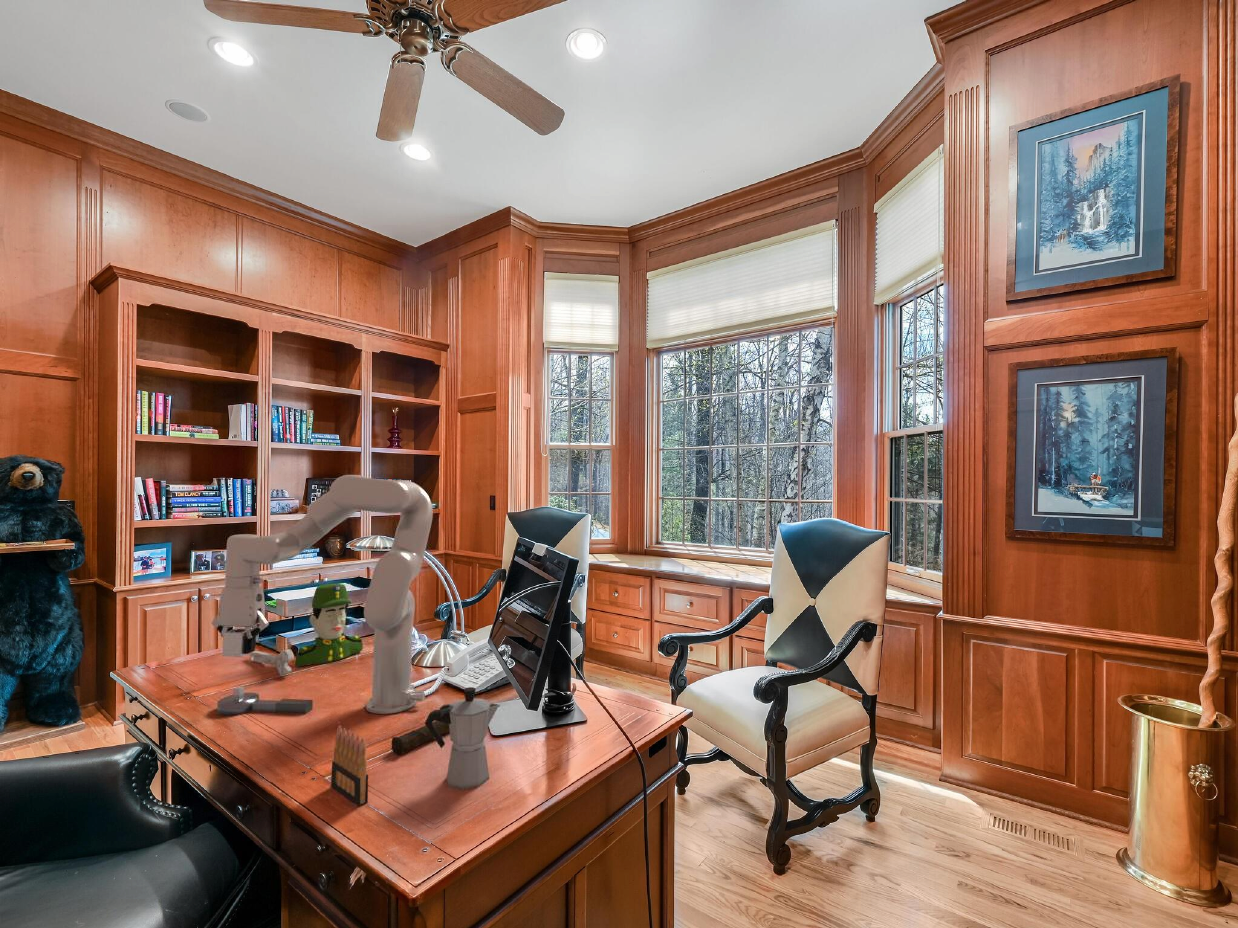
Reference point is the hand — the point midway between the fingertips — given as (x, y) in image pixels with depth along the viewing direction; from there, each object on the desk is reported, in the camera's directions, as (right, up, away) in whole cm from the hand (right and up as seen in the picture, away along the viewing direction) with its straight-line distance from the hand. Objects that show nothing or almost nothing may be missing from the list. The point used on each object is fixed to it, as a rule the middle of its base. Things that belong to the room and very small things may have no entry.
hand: (238, 651), depth 148 cm
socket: (0, -1, 0) cm, 1 cm away
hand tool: (+55, -16, -16) cm, 59 cm away
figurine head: (+3, -16, +40) cm, 44 cm away
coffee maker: (+67, -15, -33) cm, 77 cm away
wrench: (-10, -16, +31) cm, 36 cm away
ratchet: (+7, -15, -1) cm, 17 cm away
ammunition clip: (+47, -15, -39) cm, 63 cm away
